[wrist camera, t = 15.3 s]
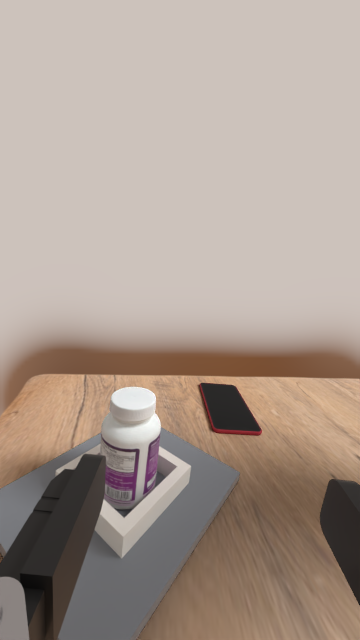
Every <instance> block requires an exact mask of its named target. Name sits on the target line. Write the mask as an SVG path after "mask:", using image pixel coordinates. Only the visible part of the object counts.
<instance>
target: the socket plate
mask: <svg viewBox="0 0 360 640" xmlns="http://www.w3.org/2000/svg"><path fill="white" fill-rule="evenodd" d="M100 445H101V433H100V434H98V435H96V436H94V437H93V438H91V439H89V440H87V441H85V442H84V443H82V444H80V445H78V446H76V447H75V448H73V449H71V450H69V451H67V452H66V453H64V454H62V455H60V456H58V457H57V458H55V459H53V460H51V461H49V462H48V463H46V464H44V465H42V466H41V467H39V468H37V469H35V470H33V471H32V472H30V473H28V474H26V475H24V476H23V477H21V478H19V479H17V480H15V481H14V482H12V483H10V484H8V485H6V486H5V487H3V488H1V489H0V553H1V555H2V556H3V558H4V556H5V555H6V553H7V552H8V550H9V548H10V547H11V545H12V543H13V542H14V540H15V539H16V537H17V535H18V534H19V532H20V530H21V529H22V527H23V525H24V524H25V522H26V521H27V519H28V517H29V516H30V514H31V513H32V512H33V509H34V508H35V506H36V504H37V503H38V501H39V499H41V496H42V495H43V493H44V491H45V490H46V488H47V486H48V485H49V483H50V482H51V480H52V479H54V478H55V477H56V476H57V475H58V474H59V473H61V472H62V471H63V470H64V469H72V470H75V469H76V467H77V465H78V463H79V461H80V459H81V457H82V456H83V454H95V455H100ZM239 475H240V472H238V471H236V470H235V469H233V468H231V467H230V466H228V465H226V464H224V463H223V462H221V461H219V460H217V459H216V458H214V457H212V456H210V455H209V454H207V453H205V452H203V451H202V450H200V449H198V448H196V447H195V446H193V445H191V444H189V443H188V442H186V441H184V440H183V439H181V438H179V437H177V436H176V435H174V434H172V433H170V432H169V431H167V430H165V429H163V428H162V427H161V433H160V443H159V453H158V463H157V473H156V481H155V488H154V490H153V491H152V492H151V493H150V494H149V495H148V496H147V497H145V498H144V499H143V500H142V501H141V502H140V503H139V504H138V505H137V506H136V507H135V508H134V509H116V508H113V507H112V506H111V505H110V504H109V503H107V502H106V501H105V500H103V504H102V508H101V512H100V515H99V518H98V521H97V524H96V527H95V530H94V532H93V535H92V538H91V541H90V544H89V547H88V550H87V553H86V556H85V559H84V562H83V565H82V568H81V571H80V574H79V577H78V580H77V583H76V585H75V588H74V591H73V594H72V597H71V600H70V603H69V606H68V609H67V612H66V615H65V618H64V621H63V624H62V627H61V630H60V633H59V635H58V638H57V640H136V639H137V638H138V636H139V634H140V633H141V631H142V630H143V628H144V627H145V625H146V624H147V622H148V620H149V619H150V617H151V616H152V614H153V613H154V611H155V610H156V608H157V606H158V605H159V603H160V602H161V600H162V599H163V597H164V596H165V594H166V592H167V591H168V589H169V588H170V586H171V585H172V583H173V581H174V580H175V578H176V577H177V575H178V574H179V572H180V571H181V569H182V567H183V566H184V564H185V563H186V561H187V560H188V558H189V557H190V555H191V553H192V552H193V550H194V549H195V547H196V546H197V544H198V543H199V541H200V539H201V538H202V536H203V535H204V533H205V532H206V530H207V529H208V527H209V525H210V524H211V522H212V521H213V519H214V518H215V516H216V515H217V513H218V511H219V510H220V508H221V507H222V505H223V504H224V502H225V501H226V499H227V497H228V496H229V494H230V493H231V491H232V490H233V488H234V486H235V485H236V483H237V482H238V480H239Z"/></svg>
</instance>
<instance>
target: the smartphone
mask: <svg viewBox="0 0 360 640" xmlns="http://www.w3.org/2000/svg"><path fill="white" fill-rule="evenodd" d="M199 386H200V389H201V393H202V396H203V399H204V403H205V406H206V409H207V413H208V416H209V419H210V423H211V426H212V429H213V431H214V432H216V433H225V434H241V435H260V434H261V433H262V430H261V428H260V426H259V425H258V423H257V421H256V420H255V418H254V416H253V415H252V413H251V411H250V410H249V408H248V406H247V405H246V403H245V401H244V399H243V398H242V396H241V394H240V393H239V391H238V389H237V388H236V386H234V385H226V384H213V383H201V384H200V385H199Z"/></svg>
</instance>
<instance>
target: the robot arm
mask: <svg viewBox="0 0 360 640" xmlns="http://www.w3.org/2000/svg"><path fill="white" fill-rule="evenodd" d="M105 474H106V456H105V455H95V454H83V456H82V457H81V459H80V461H79V463H78V465H77V467H76V469H75V470H72V469H64V470H63V471H62V472H61V473H59V474H58V475H57V476H56V477H55V478H54V479H52V480H51V482H50V483H49V485H48V486H47V488H46V490H45V491H44V493H43V495H42V496H41V499H39V501H38V503H37V504H36V506H35V508H34V509H33V512H32V513H31V514H30V516H29V517H28V519H27V521H26V522H25V524H24V525H23V527H22V529H21V530H20V532H19V534H18V535H17V537H16V539H15V540H14V542H13V543H12V545H11V547H10V548H9V550H8V552H7V553H6V555H5V556H4V558H3V560H2V561H1V563H0V640H57V638H58V635H59V633H60V630H61V627H62V624H63V621H64V618H65V615H66V612H67V609H68V606H69V603H70V600H71V597H72V594H73V591H74V588H75V585H76V583H77V580H78V577H79V574H80V571H81V568H82V565H83V562H84V559H85V556H86V553H87V550H88V547H89V544H90V541H91V538H92V535H93V532H94V530H95V527H96V524H97V521H98V518H99V515H100V512H101V508H102V504H103V500H104V493H105ZM320 523H321V528H322V531H323V534H324V536H325V538H326V540H327V542H328V544H329V546H330V548H331V550H332V552H333V554H334V556H335V558H336V560H337V562H338V564H339V566H340V568H341V570H342V572H343V574H344V576H345V578H346V579H347V581H348V583H349V585H350V587H351V589H352V591H353V593H354V595H355V597H356V599H357V601H358V603H359V605H360V485H359V484H358V483H356V482H354V481H346V480H336V479H332V480H330V481H329V483H328V487H327V490H326V494H325V498H324V501H323V505H322V508H321V512H320Z"/></svg>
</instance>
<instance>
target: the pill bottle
mask: <svg viewBox="0 0 360 640" xmlns="http://www.w3.org/2000/svg"><path fill="white" fill-rule="evenodd" d="M155 408H156V397H155V395H154V393H153V392H151V391H150V390H148V389H145V388H141V387H126V388H122V389H119V390H117V391H115V392H114V393H113V394H112V396H111V402H110V413H108V414H107V416H106V417H105V418H104V420H103V423H102V427H101V445H100V455H105V456H106V474H105V493H104V500H105V501H106V502H107V503H109V504H110V505H111V506H112V507H113V508H116V509H134V508H135V507H136V506H137V505H138V504H139V503H140V502H141V501H142V500H143V499H144V498H145V497H147V496H148V495H149V494H150V493H151V492H152V491H153V490H154V488H155V481H156V473H157V463H158V453H159V443H160V433H161V424H160V420H159V418H158V416H157V415H156V413H155Z"/></svg>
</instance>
